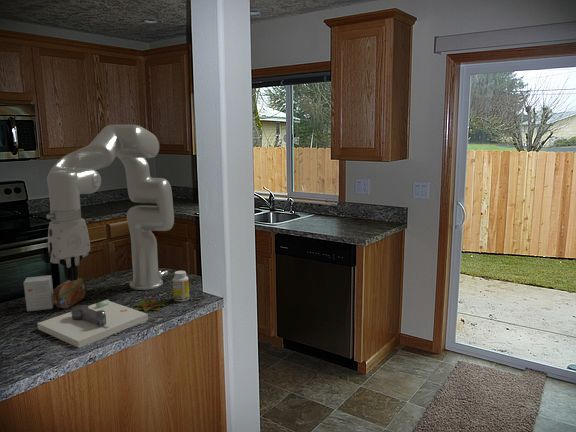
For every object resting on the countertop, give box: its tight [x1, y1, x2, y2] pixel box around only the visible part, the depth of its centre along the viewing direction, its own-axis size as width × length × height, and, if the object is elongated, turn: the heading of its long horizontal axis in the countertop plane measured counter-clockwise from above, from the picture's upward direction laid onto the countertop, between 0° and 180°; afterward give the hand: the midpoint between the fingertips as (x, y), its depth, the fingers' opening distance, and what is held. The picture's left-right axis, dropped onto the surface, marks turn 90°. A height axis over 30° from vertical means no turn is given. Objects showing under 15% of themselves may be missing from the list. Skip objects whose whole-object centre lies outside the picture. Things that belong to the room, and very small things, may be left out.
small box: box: [23, 274, 55, 312], centre depth 162 cm, size 8×6×10 cm
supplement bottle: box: [172, 270, 190, 302], centre depth 169 cm, size 6×6×10 cm
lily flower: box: [133, 293, 167, 313], centre depth 163 cm, size 12×12×5 cm
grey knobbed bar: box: [70, 304, 106, 326], centre depth 146 cm, size 15×5×4 cm, turn 55°
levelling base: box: [37, 299, 149, 349], centre depth 148 cm, size 24×22×4 cm
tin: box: [53, 277, 87, 309], centre depth 166 cm, size 15×3×8 cm, turn 168°
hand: (71, 279), depth 133 cm, fingers closed
